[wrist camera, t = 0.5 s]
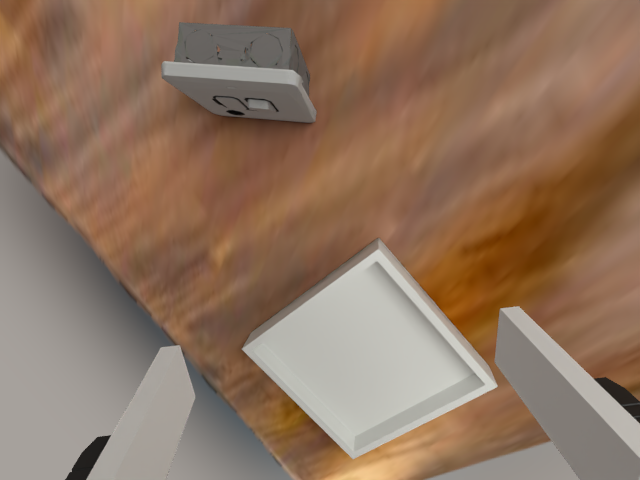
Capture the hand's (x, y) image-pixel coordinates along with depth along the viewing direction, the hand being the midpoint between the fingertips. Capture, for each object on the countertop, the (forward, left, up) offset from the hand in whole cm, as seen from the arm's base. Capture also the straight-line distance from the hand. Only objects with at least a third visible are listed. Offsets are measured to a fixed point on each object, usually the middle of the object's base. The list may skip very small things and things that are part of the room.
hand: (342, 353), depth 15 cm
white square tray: (+9, +12, -20) cm, 25 cm away
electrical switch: (-1, -14, -20) cm, 25 cm away
